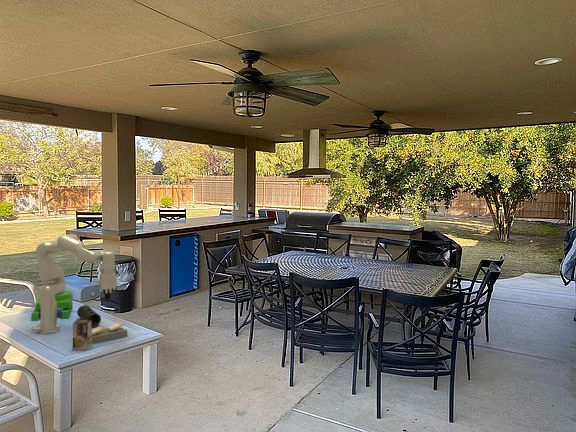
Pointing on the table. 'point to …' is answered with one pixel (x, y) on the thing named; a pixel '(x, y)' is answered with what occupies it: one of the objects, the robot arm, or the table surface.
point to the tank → (62, 302)
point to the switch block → (108, 335)
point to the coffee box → (82, 335)
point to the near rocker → (98, 329)
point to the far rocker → (115, 326)
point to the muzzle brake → (89, 315)
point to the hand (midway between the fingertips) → (107, 299)
